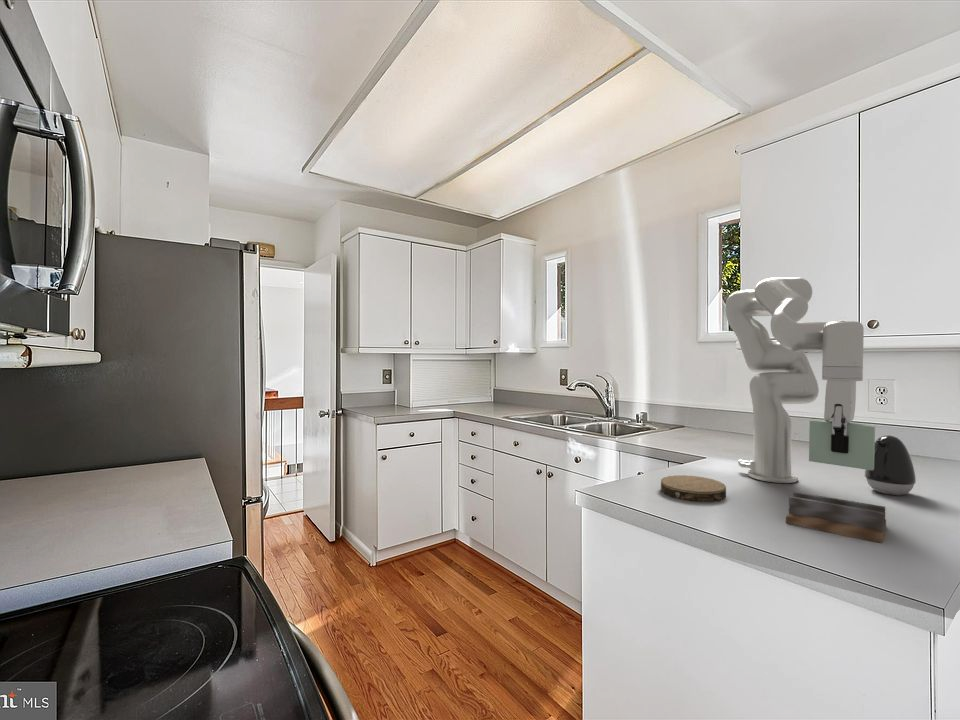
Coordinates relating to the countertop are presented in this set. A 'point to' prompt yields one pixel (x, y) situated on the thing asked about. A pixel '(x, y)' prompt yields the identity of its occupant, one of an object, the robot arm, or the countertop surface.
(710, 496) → the brown flat round disc
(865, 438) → the door panel
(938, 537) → the countertop surface
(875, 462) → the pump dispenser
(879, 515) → the track board
